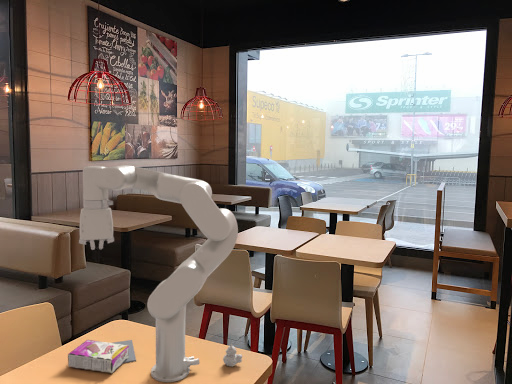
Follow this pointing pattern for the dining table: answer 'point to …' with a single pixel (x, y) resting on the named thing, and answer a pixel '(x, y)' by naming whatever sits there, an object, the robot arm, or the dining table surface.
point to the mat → (131, 350)
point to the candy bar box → (98, 356)
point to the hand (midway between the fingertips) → (97, 260)
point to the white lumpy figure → (232, 356)
